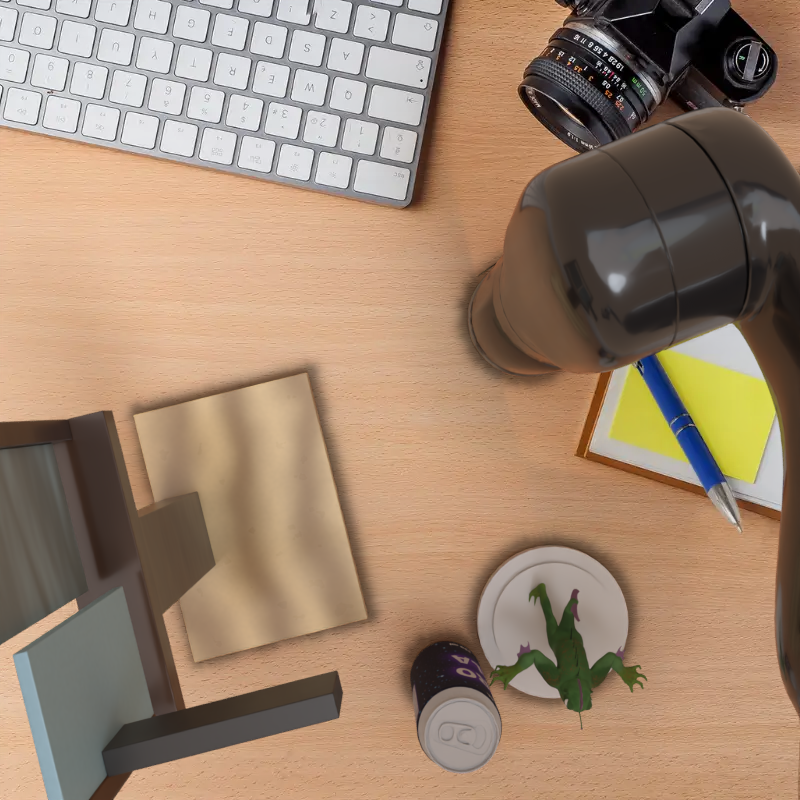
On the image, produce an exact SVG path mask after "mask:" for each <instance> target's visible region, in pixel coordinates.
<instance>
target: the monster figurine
mask: <svg viewBox="0 0 800 800" xmlns="http://www.w3.org/2000/svg"><path fill="white" fill-rule="evenodd" d="M476 608H477V610H476V631H477V635H478V640H479V644H480V646H481V648H482V651H483V654H484V656H485V658H486V659H487V662H488V663H489V665H490V666H491V668H492V671H490V674H489V679H491V678H492V679H491V681H490V683H489V684H488V686H489V688H490V687H492V686H493V684H494V683H495V681H500V682H501V683H503V691H506V690H507V688H508V686H509V685H510V686H512V688H514V689H516V690H517V691H520V692H521V693H525V694H526V695H529V696H533V697H538V698H543V699H561V701H562V702H563V704H564V706H565V708H566V709H567V710H569V711H573V712H575V713H578V715H579V721H580V730H581V731H582V730H583V722H582V715H581V713H582V712H584V711H589V710H591V709H592V708H593V698H592V694H593V693H594V690H592V689H595V688H598V687H599V686H600V685H602V684H603V683H604V681H605V680H606V679H607V677H608V675H609V674H610V673H611V672H612V671H614V672H615V673H616V674H617V675H618V676H619V677H620V679H621V680H622V682H623V683H624V684H625V685H627V686H628V688H629V691H630V693H634V685H636V684H637V685H639V686H640V688H641V689H642V690H644V689H645V687H644V684H643V682H642V681H641V680H638V678H642V679H644V680H645V682H648V678H647V675H645V674H644V673H639V672H638V670H637V669H639V670H642V666H641V664H636V665H632V666H631V665H630V666H625V665H624V663H623V662H624V659H625V658H626V657H625V656H624V655H625V652H626V649H625V647H626V642H627V639H628V633H629V632H628V631H629V612H628V611H629V610H628V607H627V603H626V599H625V596H624V594H623V591H622V589H621V587H620V585H619V584H618V582H617V580H616V578H614V576H613V575H612V573H611V572H610V571H609V570H608V569H607V568H606V567H605V566H604V565H603V564H602V563H600V562H599V561H598V560H597V559H596V558H593V557H592V556H590V555H589V554H587V553H586V552H583V551H581V550H578V549H576V548H573V547H569V546H566V545H558V544H557V545H555V544H545V545H537V546H533V547H529V548H527V549H524V550H521V551H519V552H517V553H515V554H514V555H512V556H510V557H508V558H507V559H506V560H505V561H504V562H502V563H501V564H500V565H499V566H498V567H497V568H495V570H494V571H493V572H492V574H491V575H490V577H489V578H488V580H487V581H486V583H485V585H484V587H483V589H482V592H481V594H480V596H479V601H478V604H477V607H476ZM495 674H496V675H498V676H494V677H493V675H495Z"/></svg>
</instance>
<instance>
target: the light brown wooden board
mask: <svg viewBox="0 0 800 800" xmlns="http://www.w3.org/2000/svg"><path fill="white" fill-rule="evenodd" d="M133 420H134V425H135V429H136V432H137V433H136V434H137V436H138V441H139V444H140V448H141V449H140V450H141V452H142V457H143V461H144V465H145V470H146V473H147V477H148V481H149V485H150V490H151V493H152V497H153V501H154V502H153V503H156V502H158V501H160V500H164V499H168V498H172V497H176V496H180V495H184V494H188V493H192V492H196V491H197V492H198V495H199V499H200V503H201V507H202V511H203V515H204V519H205V523H206V527H207V531H208V535H209V539H210V544H211V548H212V552H213V556H214V560H215V564H216V565H215V566H214V567H213V568H212V569H211V570H210V571H209V572H208V573H207V574H206V575H205V576H204V577H202V578H201V579H200V580H199V581H198V582H197V583H196V584H195V585H194V586H193V587H192V588H191V589H190V590H188V591H187V592H186V593H185V594H184V595H183V596H182V597H181V598H180V599H179V600H178V602H179V606H180V611H181V614H182V619H183V622H184V626H185V630H186V631H185V632H186V635H187V638H188V642H189V647H190V651H191V655H192V660H193V663H200V662H203V661H206V660H207V661H208V660H210V659H214V658H218V657H222V656H226V655H230V654H234V653H239V652H243V651H247V650H250V649H254V648H258V647H262V646H266V645H269V644H270V645H271V644H273V643H278V642H282V641H286V640H290V639H294V638H297V637H303V636H306V635H309V634H313V633H317V632H322V631H325V630H326V631H327V630H330V629H333V628H338V627H342V626H345V625H348V624H352V623H353V624H354V623H358V622H360V621H365V620H367V619H368V618H369V613H368V609H367V604H366V601H365V597H364V593H363V589H362V585H361V581H360V576H359V573H358V569H357V568H358V567H357V564H356V561H355V556H354V553H353V548H352V545H351V540H350V537H349V533H348V529H347V524H346V521H345V516H344V512H343V508H342V505H341V500H340V496H339V492H338V488H337V485H336V480H335V475H334V471H333V468H332V464H331V460H330V456H329V452H328V448H327V443H326V440H325V436H324V432H323V428H322V424H321V419H320V416H319V412H318V408H317V403H316V400H315V394H314V391H313V387H312V384H311V379H310V375H309V373H308V372H306V371H305V372H301V373H298V374H294V375H289V376H286V377H285V376H284V377H281V378H277V379H273V380H269V381H265V382H261V383H257V384H253V385H248V386H245V387H241V388H237V389H233V390H228V391H224V392H221V393H216V394H213V395H208V396H205V397H201V398H200V397H199V398H196V399H192V400H187V401H183V402H180V403H176V404H171V405H167V406H164V407H161V408H160V407H159V408H157V409H152V410H148V411H144V412H140V413H136V414H133Z"/></svg>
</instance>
